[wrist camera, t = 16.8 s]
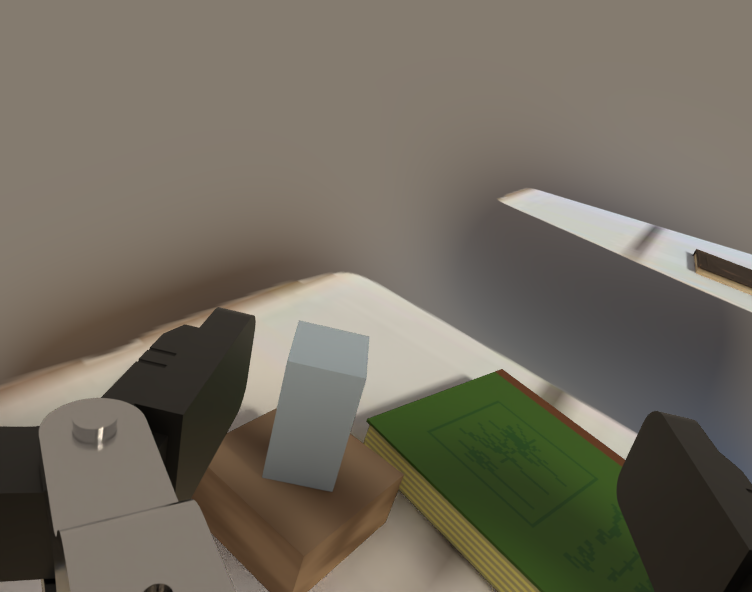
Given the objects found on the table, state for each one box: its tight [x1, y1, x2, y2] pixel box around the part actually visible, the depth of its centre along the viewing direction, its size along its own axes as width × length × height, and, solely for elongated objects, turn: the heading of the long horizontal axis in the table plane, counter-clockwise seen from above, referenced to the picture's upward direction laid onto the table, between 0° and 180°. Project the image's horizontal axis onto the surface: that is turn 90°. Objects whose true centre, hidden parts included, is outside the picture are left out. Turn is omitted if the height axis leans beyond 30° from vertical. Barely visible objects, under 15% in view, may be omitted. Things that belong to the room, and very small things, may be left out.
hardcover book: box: [363, 369, 655, 592], centre depth 47 cm, size 25×19×4 cm
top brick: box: [262, 321, 369, 492], centre depth 37 cm, size 4×4×9 cm
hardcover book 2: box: [693, 249, 752, 295], centre depth 127 cm, size 16×23×2 cm
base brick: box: [191, 408, 404, 592], centre depth 40 cm, size 10×10×5 cm
